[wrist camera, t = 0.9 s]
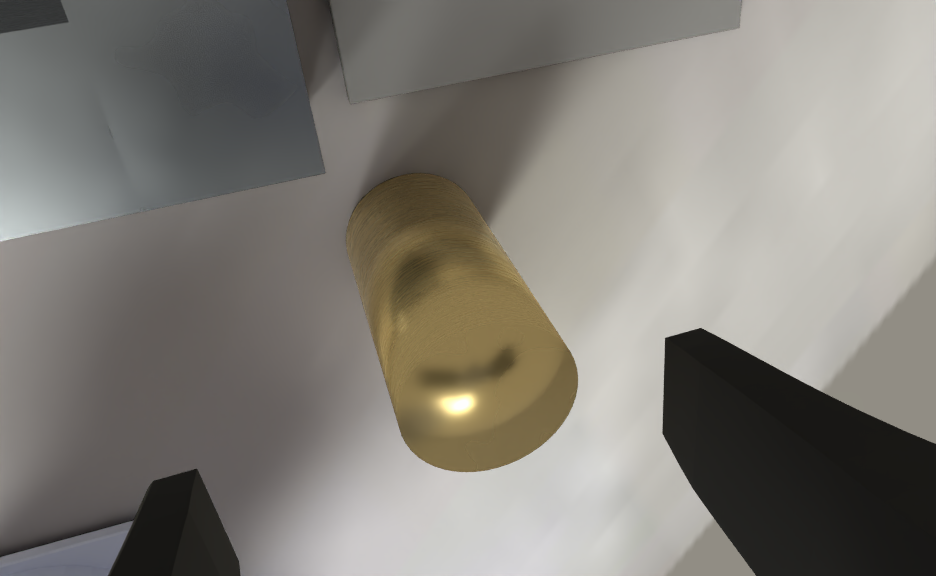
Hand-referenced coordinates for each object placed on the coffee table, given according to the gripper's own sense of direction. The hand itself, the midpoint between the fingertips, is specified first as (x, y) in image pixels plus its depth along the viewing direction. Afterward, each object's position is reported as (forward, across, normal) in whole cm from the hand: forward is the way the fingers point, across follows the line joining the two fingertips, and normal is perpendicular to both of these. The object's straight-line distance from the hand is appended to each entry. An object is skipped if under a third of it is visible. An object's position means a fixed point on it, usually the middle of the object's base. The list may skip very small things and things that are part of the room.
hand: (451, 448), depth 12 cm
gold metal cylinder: (+10, -1, +2) cm, 10 cm away
